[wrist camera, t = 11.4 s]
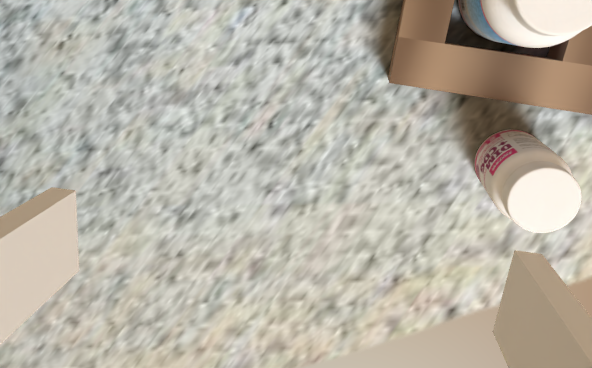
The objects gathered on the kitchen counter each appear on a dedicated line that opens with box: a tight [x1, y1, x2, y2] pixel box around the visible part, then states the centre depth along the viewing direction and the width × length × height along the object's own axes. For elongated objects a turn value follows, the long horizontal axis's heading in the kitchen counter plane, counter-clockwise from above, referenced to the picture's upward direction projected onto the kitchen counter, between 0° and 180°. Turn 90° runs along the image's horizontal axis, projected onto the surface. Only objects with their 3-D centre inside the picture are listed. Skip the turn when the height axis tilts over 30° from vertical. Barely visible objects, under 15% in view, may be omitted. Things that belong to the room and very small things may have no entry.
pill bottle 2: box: [475, 129, 582, 233], centre depth 33 cm, size 5×5×8 cm
